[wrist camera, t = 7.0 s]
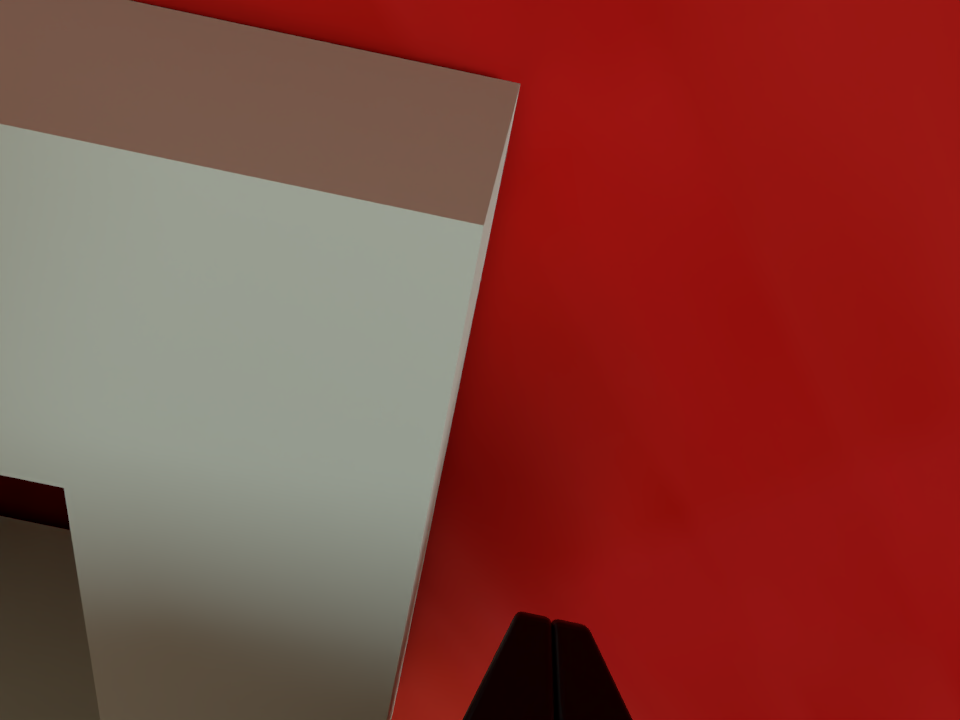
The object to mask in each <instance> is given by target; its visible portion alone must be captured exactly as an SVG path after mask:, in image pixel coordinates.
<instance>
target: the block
mask: <svg viewBox="0 0 960 720" xmlns="http://www.w3.org/2000/svg"><path fill="white" fill-rule="evenodd" d="M519 88H520V84H519V83H515V82H510V81H505V80H501V79H496V78H491V77H487V76H482V75H477V74H473V73H468V72H463V71H458V70H454V69H449V68H444V67H440V66H435V65H430V64H426V63H421V62H416V61H412V60H407V59H402V58H397V57H393V56H388V55H383V54H379V53H374V52H369V51H365V50H360V49H355V48H351V47H346V46H341V45H336V44H332V43H327V42H322V41H318V40H313V39H308V38H304V37H299V36H294V35H290V34H285V33H280V32H275V31H271V30H266V29H261V28H257V27H252V26H247V25H243V24H238V23H233V22H229V21H224V20H219V19H215V18H210V17H205V16H200V15H196V14H191V13H186V12H182V11H177V10H172V9H168V8H163V7H158V6H154V5H149V4H144V3H139V2H135V1H130V0H0V475H3V476H8V477H13V478H18V479H22V480H27V481H32V482H37V483H42V484H47V485H52V486H57V487H62V488H64V493H65V499H66V505H67V512H68V518H69V524H70V530H67V529H62V528H57V527H52V526H48V525H43V524H38V523H33V522H28V521H23V520H18V519H13V518H8V517H3V516H0V720H391V718H392V714H393V709H394V704H395V700H396V695H397V690H398V685H399V680H400V675H401V670H402V665H403V660H404V656H405V651H406V646H407V641H408V636H409V631H410V626H411V621H412V616H413V611H414V606H415V601H416V596H417V591H418V586H419V582H420V577H421V572H422V567H423V562H424V557H425V552H426V547H427V542H428V537H429V532H430V527H431V522H432V517H433V512H434V508H435V503H436V498H437V493H438V488H439V483H440V478H441V473H442V468H443V463H444V458H445V453H446V448H447V443H448V438H449V434H450V429H451V424H452V419H453V414H454V409H455V404H456V399H457V394H458V389H459V384H460V379H461V374H462V369H463V364H464V360H465V355H466V350H467V345H468V340H469V335H470V330H471V325H472V320H473V315H474V310H475V305H476V300H477V295H478V291H479V286H480V281H481V276H482V271H483V266H484V261H485V256H486V251H487V246H488V241H489V236H490V231H491V226H492V221H493V217H494V212H495V207H496V202H497V197H498V192H499V187H500V182H501V177H502V172H503V167H504V162H505V157H506V152H507V147H508V143H509V138H510V133H511V128H512V123H513V118H514V113H515V108H516V103H517V98H518V93H519Z"/></svg>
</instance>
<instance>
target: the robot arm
mask: <svg viewBox="0 0 960 720" xmlns="http://www.w3.org/2000/svg"><path fill="white" fill-rule="evenodd" d="M463 720H632V718H631V716H630V714H629V712H628V710H627V708H626V706H625V703H624V701H623V699H622V697H621V695H620V693H619V691H618V689H617V687H616V684H615V682H614V680H613V678H612V676H611V674H610V672H609V670H608V668H607V666H606V663H605V661H604V659H603V657H602V655H601V653H600V651H599V649H598V647H597V645H596V642H595V640H594V638H593V636H592V634H591V632H590V630H589V629H588V628H587V627H586V626H584V625H582V624H578V623H573V622H568V621H564V620H559V619H557V620H553V621H552V622H551V621H550V619H549V618H547V617H545V616H540V615H535V614H531V613H526V612H518V613H517V614H516V615H515V616H514V618H513V620H512V622H511V624H510V626H509V628H508V630H507V632H506V634H505V636H504V638H503V640H502V642H501V644H500V646H499V648H498V650H497V652H496V654H495V656H494V658H493V660H492V662H491V664H490V666H489V668H488V670H487V672H486V674H485V676H484V678H483V680H482V682H481V684H480V686H479V688H478V690H477V692H476V694H475V696H474V698H473V700H472V702H471V704H470V706H469V708H468V710H467V712H466V714H465V716H464V718H463Z"/></svg>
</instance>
